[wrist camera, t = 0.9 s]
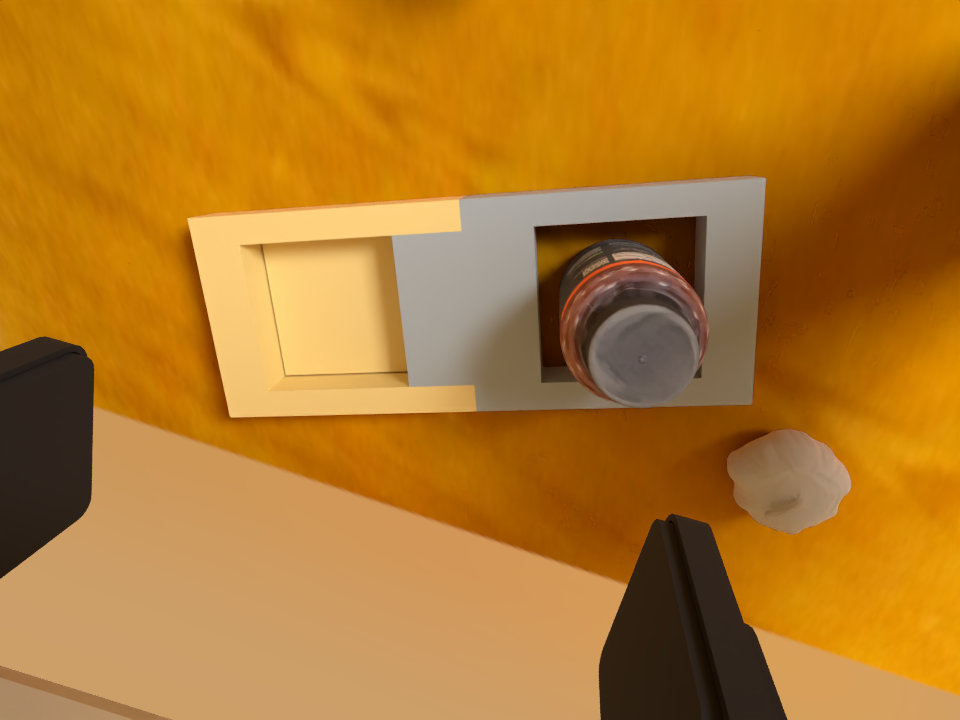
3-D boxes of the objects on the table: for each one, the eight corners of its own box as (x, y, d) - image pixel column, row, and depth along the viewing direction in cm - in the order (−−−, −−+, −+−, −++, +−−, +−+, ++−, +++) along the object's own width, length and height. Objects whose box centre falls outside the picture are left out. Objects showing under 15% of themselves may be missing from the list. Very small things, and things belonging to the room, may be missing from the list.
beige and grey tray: (750, 175, 31) (766, 177, 29) (738, 387, 34) (752, 404, 32) (212, 213, 35) (187, 218, 32) (250, 400, 38) (230, 417, 36)
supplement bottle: (633, 366, 35) (667, 463, 24) (537, 313, 34) (528, 389, 24) (696, 270, 33) (763, 330, 22) (595, 214, 32) (613, 247, 22)
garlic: (710, 500, 37) (734, 554, 32) (721, 413, 35) (748, 457, 30) (820, 506, 36) (861, 562, 31) (836, 418, 34) (883, 463, 29)
